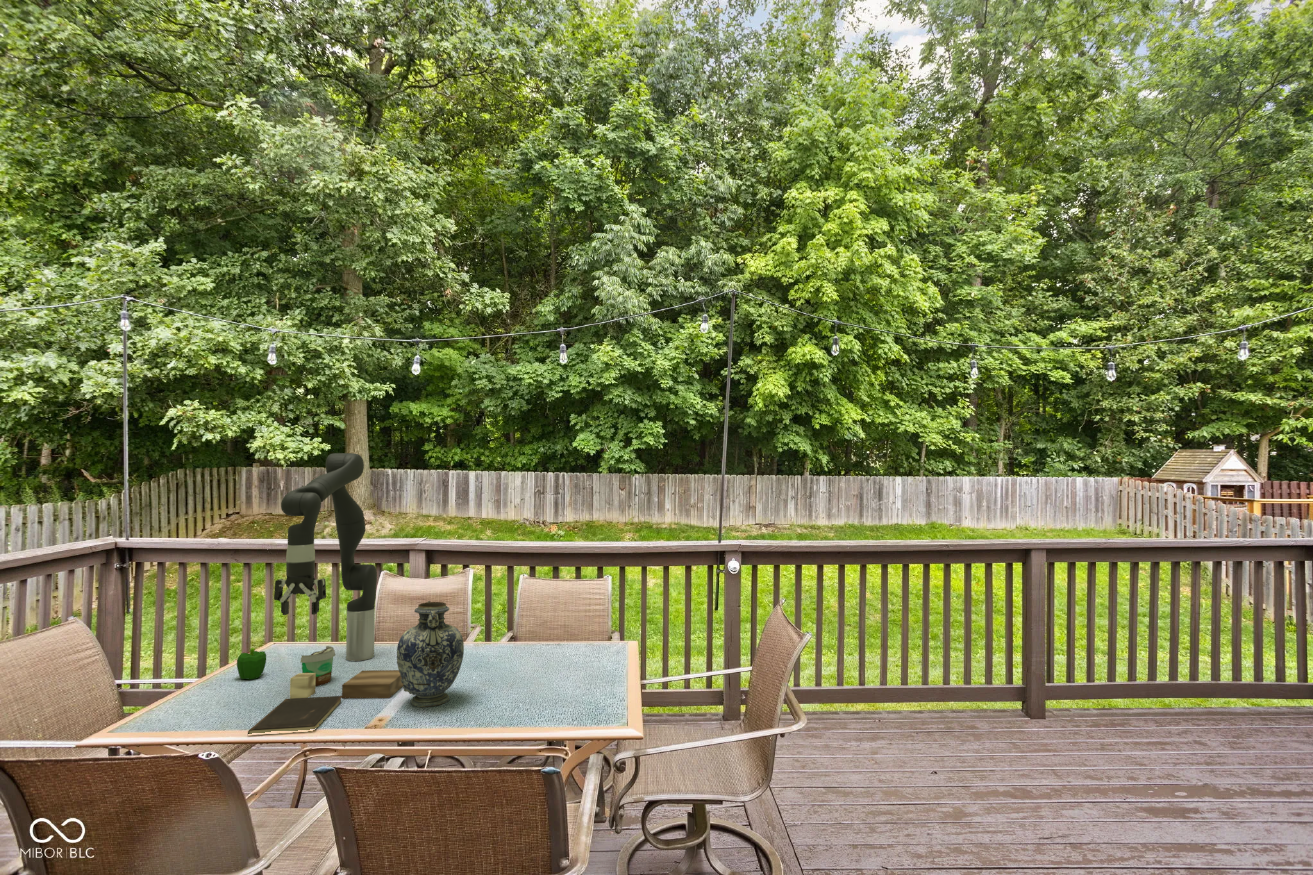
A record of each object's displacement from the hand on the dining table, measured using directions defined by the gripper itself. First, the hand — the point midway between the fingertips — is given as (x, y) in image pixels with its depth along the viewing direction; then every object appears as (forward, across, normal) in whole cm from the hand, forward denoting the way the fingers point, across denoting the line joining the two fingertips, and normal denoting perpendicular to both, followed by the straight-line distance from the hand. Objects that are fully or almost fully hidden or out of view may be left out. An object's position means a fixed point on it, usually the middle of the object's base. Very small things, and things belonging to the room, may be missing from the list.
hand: (300, 614), depth 199 cm
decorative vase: (+25, -40, +4) cm, 47 cm away
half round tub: (+25, 0, -14) cm, 29 cm away
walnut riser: (+25, -20, -6) cm, 32 cm away
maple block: (+25, 0, -2) cm, 25 cm away
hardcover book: (+25, -8, +16) cm, 31 cm away
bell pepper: (+25, +26, -20) cm, 41 cm away
